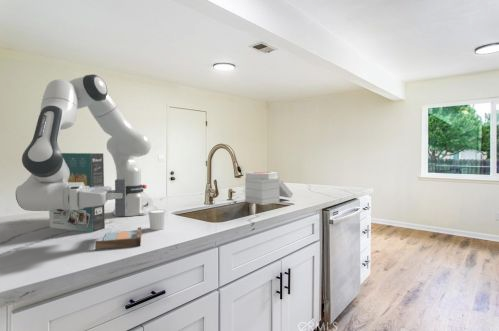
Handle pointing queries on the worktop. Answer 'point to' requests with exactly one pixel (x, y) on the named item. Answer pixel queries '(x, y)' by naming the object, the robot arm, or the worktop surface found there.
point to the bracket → (120, 203)
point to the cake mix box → (92, 175)
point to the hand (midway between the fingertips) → (123, 194)
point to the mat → (120, 236)
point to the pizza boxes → (264, 188)
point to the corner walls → (119, 242)
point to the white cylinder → (157, 219)
